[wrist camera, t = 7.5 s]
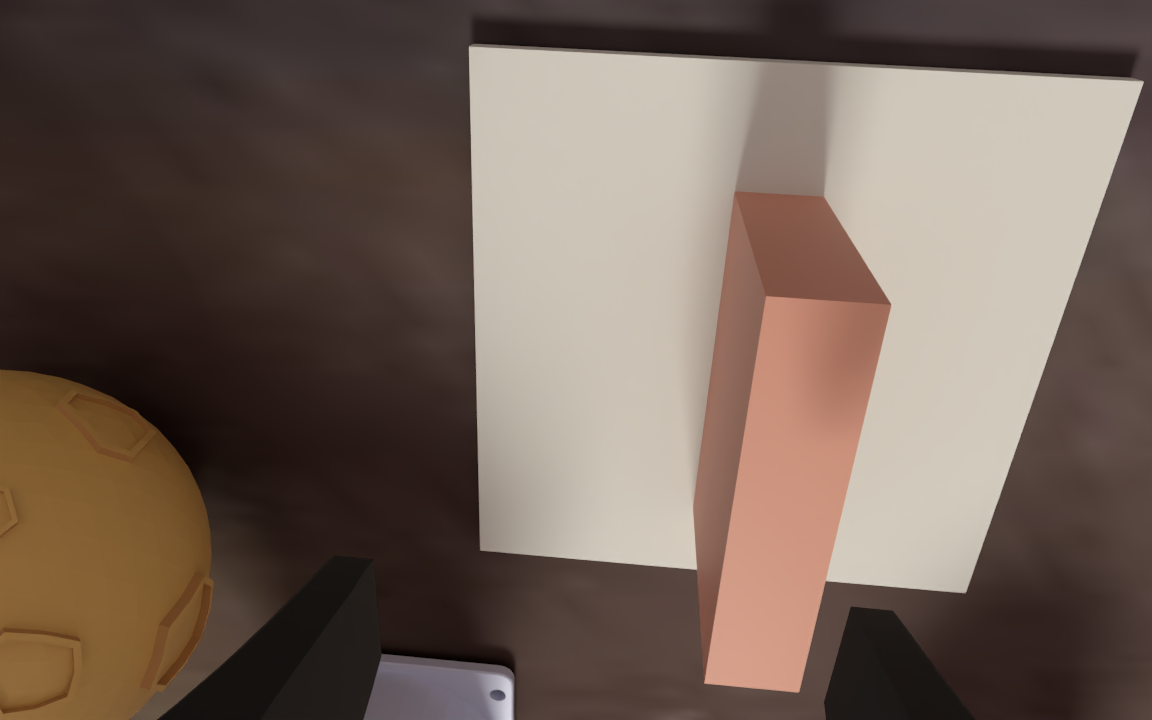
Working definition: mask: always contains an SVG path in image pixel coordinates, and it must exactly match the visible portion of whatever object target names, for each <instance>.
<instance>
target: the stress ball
mask: <svg viewBox="0 0 1152 720" xmlns="http://www.w3.org/2000/svg"><path fill="white" fill-rule="evenodd" d="M211 560H212V553H211V535H210V528H209V522H208V516H207V511H206V508H205V505H204V502H203V499H202V496H201V493H200V490H199V488H198V486H197V484H196V482H195V479H194V477H193V475H192V473H191V471H190V469H189V467H188V466H187V464H186V463H185V462H184V460H183V459H182V457H181V456H180V455H179V453H178V452H177V451H176V449H175V448H174V447H173V445H172V444H171V443H170V442H169V441H168V440H167V439H166V438H165V437H164V435H163V434H162V433H161V432H160V431H159V430H158V429H157V428H156V427H155V426H154V425H152V424H151V423H150V422H148V421H147V420H146V419H145V418H143V417H142V416H141V415H140V414H139V413H138V412H137V411H136V410H134V409H131V408H129V407H127V406H126V405H124V404H123V403H121V402H120V401H118V400H116V399H115V398H113V397H111V396H109V395H106V394H104V393H102V392H99V391H97V390H95V389H92V388H90V387H88V386H85V385H82V384H79V383H76V382H73V381H70V380H67V379H64V378H60V377H55V376H50V375H45V374H40V373H34V372H28V371H13V370H0V720H129V719H130V718H131V717H132V716H133V715H134V714H136V713H137V712H138V711H139V710H140V709H141V708H142V707H143V706H144V705H145V704H146V703H147V701H148V700H149V699H150V698H151V697H152V696H153V694H154V693H155V692H156V691H159V692H163V690H164V689H165V688H166V687H167V686H168V684H169V683H170V682H171V681H172V680H173V679H174V677H175V676H176V675H177V674H178V673H179V672H180V670H181V669H182V668H183V667H184V666H185V664H186V663H187V661H188V659H189V658H190V656H191V655H192V653H193V651H194V650H195V648H196V646H197V645H198V643H199V642H200V640H201V638H202V635H203V632H204V629H205V625H206V622H207V619H208V616H209V613H210V608H211V601H212V593H213V585H214V581H213V580H211V579H209V576H210V568H211Z"/></svg>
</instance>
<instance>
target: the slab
mask: <svg viewBox="0 0 1152 720" xmlns="http://www.w3.org/2000/svg"><path fill="white" fill-rule="evenodd" d="M890 309H891V303H890V301H889V300H888V298H887V297H886V295H885V294H884V292H883V290H882V289H881V287H880V286H879V284H878V282H877V281H876V279H875V278H874V276H873V274H872V273H871V271H870V270H869V268H868V266H867V265H866V263H865V262H864V260H863V258H862V257H861V255H860V254H859V252H858V250H857V249H856V247H855V246H854V244H853V242H852V241H851V239H850V238H849V236H848V234H847V233H846V231H845V230H844V228H843V226H842V225H841V223H840V222H839V220H838V218H837V217H836V215H835V214H834V212H833V210H832V209H831V207H830V206H829V204H828V202H827V201H826V199H825V198H824V197H819V196H803V195H786V194H770V193H754V192H737V191H735V192H734V200H733V207H732V215H731V222H730V230H729V238H728V245H727V253H726V261H725V268H724V276H723V283H722V291H721V299H720V306H719V314H718V321H717V329H716V337H715V344H714V352H713V360H712V367H711V375H710V382H709V390H708V398H707V405H706V413H705V420H704V428H703V436H702V443H701V451H700V458H699V466H698V474H697V481H696V489H695V497H694V504H693V516H694V532H695V547H696V563H697V578H698V594H699V610H700V625H701V641H702V656H703V672H704V683H705V684H716V685H726V686H737V687H747V688H758V689H768V690H778V691H789V692H799V690H800V686H801V682H802V678H803V673H804V669H805V665H806V661H807V657H808V652H809V648H810V644H811V640H812V636H813V632H814V627H815V623H816V619H817V615H818V611H819V606H820V602H821V598H822V594H823V590H824V585H825V581H826V577H827V573H828V569H829V565H830V560H831V556H832V552H833V548H834V544H835V539H836V535H837V531H838V527H839V523H840V519H841V514H842V510H843V506H844V502H845V498H846V493H847V489H848V485H849V481H850V477H851V472H852V468H853V464H854V460H855V456H856V452H857V447H858V443H859V439H860V435H861V431H862V426H863V422H864V418H865V414H866V410H867V406H868V401H869V397H870V393H871V389H872V385H873V380H874V376H875V372H876V368H877V364H878V360H879V355H880V351H881V347H882V343H883V339H884V334H885V330H886V326H887V322H888V318H889V313H890Z"/></svg>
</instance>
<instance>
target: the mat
mask: <svg viewBox="0 0 1152 720" xmlns="http://www.w3.org/2000/svg"><path fill="white" fill-rule="evenodd" d="M469 70H470V116H471V161H472V206H473V251H474V297H475V342H476V387H477V433H478V478H479V523H480V551H491V552H503V553H514V554H526V555H537V556H548V557H560V558H571V559H582V560H594V561H605V562H617V563H628V564H639V565H651V566H662V567H673V568H685V569H696V570H697V563H696V547H695V532H694V516H693V504H694V497H695V489H696V481H697V474H698V466H699V458H700V451H701V443H702V436H703V428H704V420H705V413H706V405H707V398H708V390H709V382H710V375H711V367H712V360H713V352H714V344H715V337H716V329H717V321H718V314H719V306H720V299H721V291H722V283H723V276H724V268H725V261H726V253H727V245H728V238H729V230H730V222H731V215H732V207H733V200H734V192H735V191H737V192H754V193H770V194H786V195H803V196H819V197H824V198H825V199H826V201H827V202H828V204H829V206H830V207H831V209H832V210H833V212H834V214H835V215H836V217H837V218H838V220H839V222H840V223H841V225H842V226H843V228H844V230H845V231H846V233H847V234H848V236H849V238H850V239H851V241H852V242H853V244H854V246H855V247H856V249H857V250H858V252H859V254H860V255H861V257H862V258H863V260H864V262H865V263H866V265H867V266H868V268H869V270H870V271H871V273H872V274H873V276H874V278H875V279H876V281H877V282H878V284H879V286H880V287H881V289H882V290H883V292H884V294H885V295H886V297H887V298H888V300H889V301H890V303H891V309H890V313H889V318H888V322H887V326H886V330H885V334H884V339H883V343H882V347H881V351H880V355H879V360H878V364H877V368H876V372H875V376H874V380H873V385H872V389H871V393H870V397H869V401H868V406H867V410H866V414H865V418H864V422H863V426H862V431H861V435H860V439H859V443H858V447H857V452H856V456H855V460H854V464H853V468H852V472H851V477H850V481H849V485H848V489H847V493H846V498H845V502H844V506H843V510H842V514H841V519H840V523H839V527H838V531H837V535H836V539H835V544H834V548H833V552H832V556H831V560H830V565H829V569H828V573H827V577H826V581H833V582H844V583H855V584H867V585H878V586H889V587H901V588H912V589H924V590H935V591H946V592H958V593H966V591H967V588H968V585H969V582H970V580H971V577H972V574H973V571H974V568H975V565H976V562H977V559H978V557H979V554H980V551H981V548H982V545H983V542H984V539H985V536H986V534H987V531H988V528H989V525H990V522H991V519H992V516H993V513H994V511H995V508H996V505H997V502H998V499H999V496H1000V493H1001V490H1002V488H1003V485H1004V482H1005V479H1006V476H1007V473H1008V470H1009V468H1010V465H1011V462H1012V459H1013V456H1014V453H1015V450H1016V447H1017V445H1018V442H1019V439H1020V436H1021V433H1022V430H1023V427H1024V424H1025V422H1026V419H1027V416H1028V413H1029V410H1030V407H1031V404H1032V401H1033V399H1034V396H1035V393H1036V390H1037V387H1038V384H1039V381H1040V378H1041V376H1042V373H1043V370H1044V367H1045V364H1046V361H1047V358H1048V355H1049V353H1050V350H1051V347H1052V344H1053V341H1054V338H1055V335H1056V332H1057V330H1058V327H1059V324H1060V321H1061V318H1062V315H1063V312H1064V310H1065V307H1066V304H1067V301H1068V298H1069V295H1070V292H1071V289H1072V287H1073V284H1074V281H1075V278H1076V275H1077V272H1078V269H1079V266H1080V264H1081V261H1082V258H1083V255H1084V252H1085V249H1086V246H1087V243H1088V241H1089V238H1090V235H1091V232H1092V229H1093V226H1094V223H1095V220H1096V218H1097V215H1098V212H1099V209H1100V206H1101V203H1102V200H1103V197H1104V195H1105V192H1106V189H1107V186H1108V183H1109V180H1110V177H1111V175H1112V172H1113V169H1114V166H1115V163H1116V160H1117V157H1118V154H1119V152H1120V149H1121V146H1122V143H1123V140H1124V137H1125V134H1126V131H1127V129H1128V126H1129V123H1130V120H1131V117H1132V114H1133V111H1134V108H1135V106H1136V103H1137V100H1138V97H1139V94H1140V91H1141V88H1142V85H1143V83H1144V82H1143V81H1140V80H1137V79H1134V78H1128V77H1109V76H1089V75H1070V74H1051V73H1031V72H1012V71H992V70H973V69H954V68H934V67H915V66H896V65H876V64H857V63H838V62H818V61H799V60H780V59H760V58H741V57H722V56H702V55H683V54H663V53H644V52H625V51H605V50H586V49H567V48H547V47H528V46H509V45H489V44H472V45H471V46H469Z"/></svg>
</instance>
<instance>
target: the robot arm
mask: <svg viewBox="0 0 1152 720" xmlns="http://www.w3.org/2000/svg"><path fill="white" fill-rule="evenodd" d="M514 680H515V678H514V674H513V672H512V671H511V670H510V669H508V668H507V667H505V666H501V665H492V664H482V663H471V662H461V661H450V660H440V659H430V658H419V657H409V656H398V655H388V654H381V643H380V631H379V618H378V606H377V594H376V582H375V570H374V560H373V559H363V558H352V557H342V556H334V557H332V558H331V559H330V560H329V561H327V562H326V563H325V565H324V566H323V567H322V568H321V569H320V570H319V571H318V572H317V573H316V574H315V575H314V576H313V577H312V578H311V579H310V580H309V581H308V582H307V583H306V584H305V585H304V586H303V587H302V588H301V589H300V590H299V591H298V592H297V593H296V594H295V595H294V596H293V597H292V598H291V599H290V600H289V601H288V602H287V603H286V604H285V605H284V606H283V607H282V608H281V609H280V610H279V611H278V612H277V613H276V614H275V615H274V616H273V617H272V618H271V619H270V620H269V621H268V622H267V623H266V624H265V625H264V626H263V627H262V628H261V629H259V630H258V631H257V632H256V633H255V634H254V635H253V636H252V637H251V638H250V639H249V640H248V641H247V642H246V643H245V644H244V645H243V646H242V647H240V648H239V649H238V650H237V651H236V652H235V653H234V654H233V655H232V656H231V657H230V658H229V659H228V660H227V661H225V662H224V663H223V664H222V665H221V666H220V667H219V668H218V669H216V670H215V671H214V672H213V673H212V674H211V675H209V676H208V677H207V678H206V679H205V680H204V681H202V682H201V683H200V684H199V685H198V686H197V687H196V688H194V689H193V690H192V691H191V692H190V693H189V694H187V695H186V696H185V697H184V698H183V699H182V700H181V701H179V702H178V703H177V704H176V705H175V706H173V707H172V708H171V709H170V710H168V711H167V712H166V713H165V714H163V715H162V716H161V717H160V718H158V719H157V720H514ZM498 690H501V691H498ZM824 704H825V713H826V720H976V719H975V718H974V717H973V715H972V714H971V713H970V712H969V711H968V709H967V708H966V707H965V705H964V704H963V703H962V702H961V700H960V699H959V698H958V696H957V695H956V694H955V693H954V691H953V690H952V689H951V687H950V686H949V685H948V683H947V682H946V681H945V679H944V678H943V677H942V675H941V674H940V673H939V671H938V670H937V669H936V668H935V666H934V665H933V664H932V662H931V661H930V659H929V658H928V657H927V655H926V654H925V653H924V651H923V650H922V649H921V647H920V646H919V645H918V643H917V642H916V641H915V639H914V638H913V637H912V635H911V634H910V633H909V631H908V630H907V628H906V627H905V626H904V624H903V623H902V622H901V621H900V619H899V618H898V617H897V615H896V614H895V613H894V612H893V611H889V610H879V609H869V608H859V607H851V608H850V612H849V616H848V619H847V623H846V626H845V630H844V633H843V637H842V641H841V644H840V648H839V651H838V655H837V658H836V662H835V666H834V669H833V673H832V676H831V680H830V683H829V687H828V691H827V694H826V698H825V701H824Z"/></svg>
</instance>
